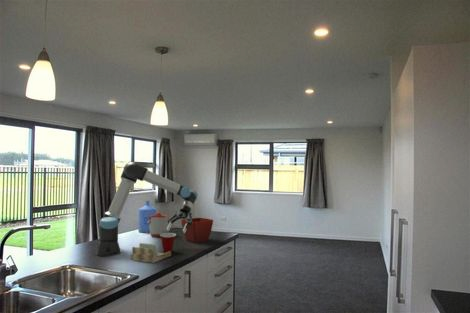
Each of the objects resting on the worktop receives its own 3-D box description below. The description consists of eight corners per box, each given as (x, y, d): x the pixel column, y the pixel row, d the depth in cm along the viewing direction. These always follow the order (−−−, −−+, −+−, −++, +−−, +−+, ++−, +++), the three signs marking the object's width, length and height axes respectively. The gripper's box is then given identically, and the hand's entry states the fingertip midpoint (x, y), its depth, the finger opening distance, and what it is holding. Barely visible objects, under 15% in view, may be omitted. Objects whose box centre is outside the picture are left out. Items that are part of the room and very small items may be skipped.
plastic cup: (160, 253, 232) (160, 235, 232) (159, 250, 242) (159, 233, 242) (176, 252, 234) (176, 235, 235) (174, 249, 245) (175, 232, 245)
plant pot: (180, 240, 277) (180, 219, 277) (199, 237, 289) (199, 217, 290) (193, 244, 262) (194, 222, 263) (213, 241, 275) (213, 219, 276)
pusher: (139, 255, 221) (139, 243, 221) (140, 255, 222) (140, 243, 222) (157, 258, 215) (157, 245, 216) (157, 257, 216) (158, 244, 217)
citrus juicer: (145, 235, 299) (145, 211, 300) (165, 233, 306) (165, 211, 307) (148, 238, 285) (149, 213, 286) (169, 236, 292) (169, 212, 293)
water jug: (134, 232, 313) (135, 201, 314) (146, 229, 327) (147, 199, 328) (147, 233, 306) (148, 201, 307) (159, 230, 320) (159, 200, 321)
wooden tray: (130, 259, 216) (131, 247, 216) (149, 253, 233) (149, 241, 234) (153, 262, 209) (153, 249, 209) (170, 255, 227) (171, 243, 227)
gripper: (202, 212, 258) (192, 235, 244) (174, 210, 268) (162, 233, 253) (199, 205, 254) (188, 229, 239) (170, 204, 263) (158, 227, 249)
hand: (175, 231), depth 246 cm, fingers open, 13 cm apart
